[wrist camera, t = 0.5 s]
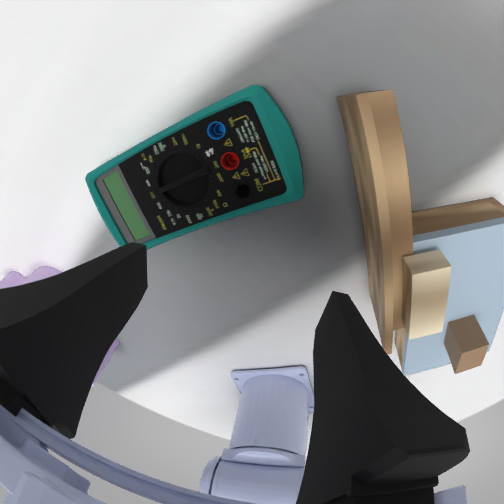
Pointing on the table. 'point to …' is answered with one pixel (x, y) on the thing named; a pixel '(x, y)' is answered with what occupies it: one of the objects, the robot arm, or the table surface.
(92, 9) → the table surface
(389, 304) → the toolbox
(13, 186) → the table surface
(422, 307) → the cream rectangular block
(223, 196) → the digital multimeter
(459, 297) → the lid
